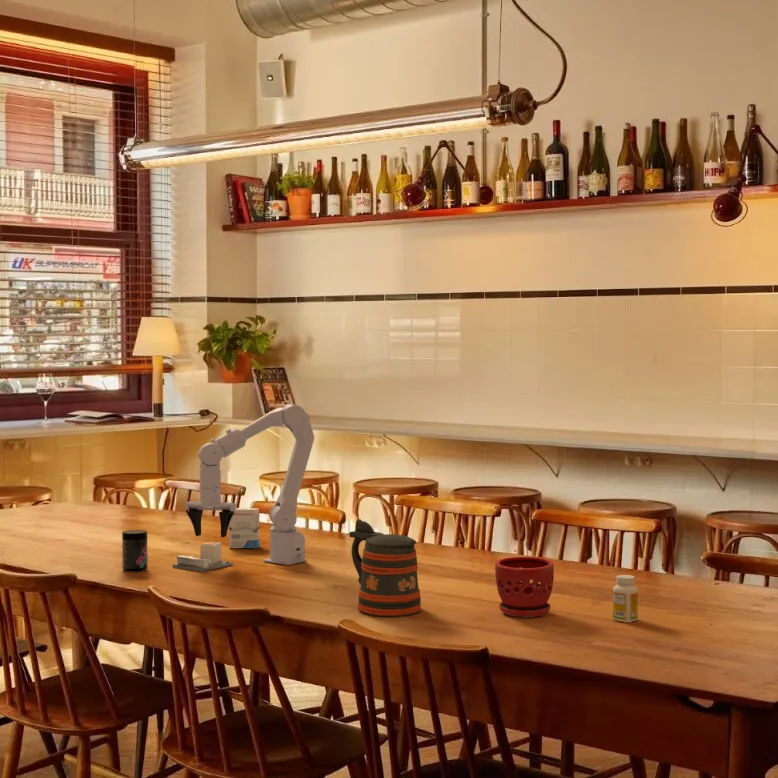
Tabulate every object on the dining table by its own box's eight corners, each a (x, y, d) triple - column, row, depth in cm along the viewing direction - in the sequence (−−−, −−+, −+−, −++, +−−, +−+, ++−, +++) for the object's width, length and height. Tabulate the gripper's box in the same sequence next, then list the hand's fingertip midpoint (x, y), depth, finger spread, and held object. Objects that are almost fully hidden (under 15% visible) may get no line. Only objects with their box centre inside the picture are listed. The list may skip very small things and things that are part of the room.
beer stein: (329, 609, 271) (329, 522, 270) (368, 598, 283) (368, 515, 282) (395, 620, 260) (396, 530, 259) (433, 608, 272) (433, 522, 271)
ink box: (260, 546, 354) (260, 507, 354) (256, 549, 349) (256, 509, 349) (232, 546, 355) (232, 507, 354) (228, 548, 350) (228, 509, 350)
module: (221, 560, 327) (221, 541, 327) (213, 563, 322) (213, 544, 322) (208, 559, 328) (208, 541, 328) (200, 562, 323) (200, 544, 323)
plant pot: (490, 607, 273) (491, 556, 272) (546, 607, 273) (547, 555, 273) (500, 621, 260) (500, 567, 259) (558, 620, 260) (559, 566, 260)
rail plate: (232, 565, 324) (232, 554, 324) (201, 571, 314) (201, 561, 314) (203, 560, 331) (203, 550, 330) (172, 567, 321) (172, 556, 321)
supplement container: (133, 573, 312) (132, 534, 312) (116, 570, 317) (116, 531, 316) (153, 569, 318) (152, 531, 317) (136, 566, 322) (136, 528, 322)
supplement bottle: (634, 617, 263) (634, 574, 263) (640, 622, 258) (640, 578, 258) (610, 617, 263) (610, 574, 263) (615, 622, 258) (616, 578, 258)
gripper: (240, 486, 326) (241, 534, 327) (192, 484, 330) (193, 532, 331) (230, 489, 319) (230, 539, 320) (181, 487, 323) (182, 536, 324)
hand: (210, 536), depth 325 cm, fingers open, 7 cm apart
